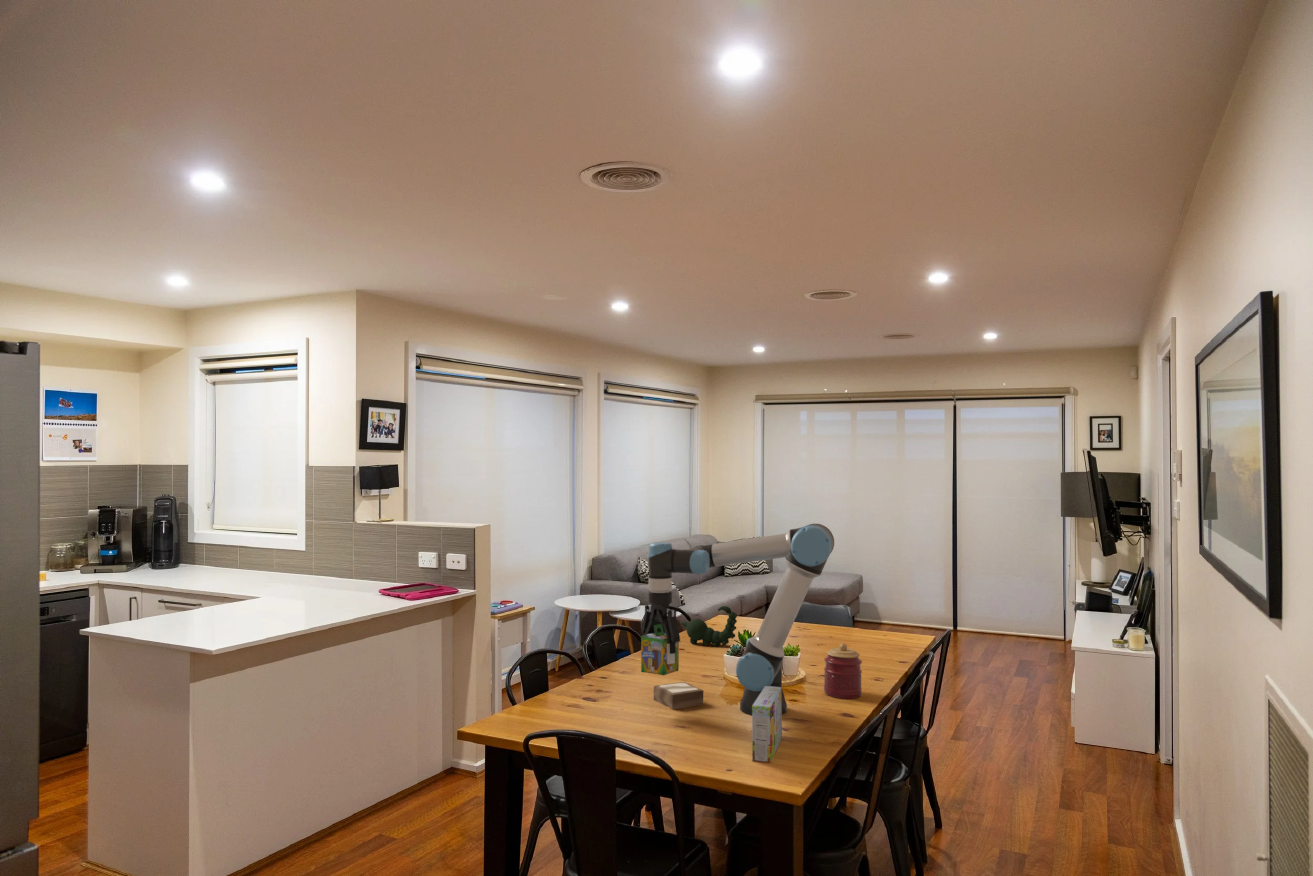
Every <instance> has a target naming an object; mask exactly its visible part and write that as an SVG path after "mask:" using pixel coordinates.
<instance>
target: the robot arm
mask: <svg viewBox="0 0 1313 876" xmlns="http://www.w3.org/2000/svg"><path fill="white" fill-rule="evenodd" d="M672 545H673V544H672V543H671V542H662V541H661V542H652V543H650V544H649V546H648V556H647V558H648V584H647V585H648V590H649V592H648V604H645V605H644V615H643V619H642V627H641V634H642V635H647V634H650V633H655V631H654V626H655V625H658V622H660V624H662V627H663V631H664V633H666V636H667V639H668V642H667V664H673V663H675V652H676V649H675V644H676V642H679V643H680V642H681V637H680V631H679V624H678V621H677V610H676V609H671V608H670V604H672V603H673V592H672V591H671V590H672V589H673V588H672V586H673V585H672V583H673V582H672V581H673V580H672V578H673V574H691V575H692V574H693V575H702V574H703V575H704V574H705V575H706V574H707V573H708V572H709V569H710V568H716V567H721V566H729V565H730V566H731V565H737V564H745V563H752V562H753V563H754V562H760V561H761V562H762V561H768V560H775V559H782V558H784V559H785V563H786V565H787V566H786V569H785V571H784V572H783V574H782V575H783V576H782V578H781V580H780V582H779V584H778V587H777V588H776V592H775V593H774V595H773V598H772V601H771V602H770V605H769V607H768V608H767V611H766V613H765V616H764V618H763V621H761V622H762V623H761V625H760V627H759V629H758V631H757V634H756V635H754V636H751V637H750V638H747V640H746V644H745V649H744V651H743V653H742V655H741V657H739V659H738V660H737V663H736V667H735V668H736V669H735V674H736V677H737V679H738V682H739V683H740V684H741V685H742V686H743V688H744V690H743V693H742V697H741V699H740V701H739V709H740V711H741V712H743V713H745V714H747V715H751V716H752V705H753V704H754V702H755V701H756V699H757V698H758V696H759V695H760V693H761V692H762V690H763V688H764V687H765V686H773V687H781V692H782V715H786V714H787V712H788V704H787V701H786V698H785V693H784V689H783V684H782V683H783V682H782V681H783V659H784V658H785V652H784V649H783V647H784V645H785V643H786V640H787V638H788V636H789V634H790V632H791V629H792V627H793V625H794V622H795V620H796V618H797V616H798V614H799V611H800V608H801V607H802V605H803V602H804V600H805V597H806V596H807V593H808V591H809V589H810V587H811V585H812V583H813V580H814V579H815V578H817V577H820V576H821V574H822V572H823V570H824V568H825V566H826V564H827V561H828V559H829V557H830V556H831V553H832V552H833V550H834V547H835V537H834V535H833V533H832V531H831V530H830V529H829V528H828V527H827V526H825V525H823V524H820V523H810V524H807V525H804V526H801V527H798V528H793V529H789V530H788V531H787V532H785V533H779V534H773V535H767V536H759V537H758V536H757V537H752V538H746V539H745V538H744V539H739V540H738V539H737V540H734V541H732V540H731V541H725V542H718V543H717V542H716V543H712V544H705V545H703V544H701V545H700V544H699V545H696V546H694V547H692V548H689V549H676V548H673V546H672Z"/></svg>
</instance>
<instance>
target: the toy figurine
mask: <svg viewBox="0 0 1313 876" xmlns="http://www.w3.org/2000/svg"><path fill="white" fill-rule="evenodd" d="M717 610H718V611H724V612H725V613H726V614H728V618H727V620H726V624H725V627H724V629H723V630H722V631H719V630H715V629H714V628H713V627H709V626H708V624H707V623H706V621H704V620H702V619H701V618H693V619H691V620H690V621H689V622H688V621H685V622H684V621H681V622H680V624H681V626H683V627H684V628H685V629H686V634H687V636H688V637H689V638H690V639H689V642H690V644H692V645H695V643H696V644H697V643H698V641H702V645H704V646H707V645H709V644H712V647H714V648H716V647H718V646H720V645H721V644H722V646H727V644H729V643H730V640H729V639H732V640H733V639H734V638H735V637H736V634H735V633H734V631H735V630H737V626H736V623H738V620H737V618H738V614H737V613H736V612H734V611H732V609H731V608H730V606H726V605H722V606H720V607H718V609H717Z"/></svg>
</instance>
